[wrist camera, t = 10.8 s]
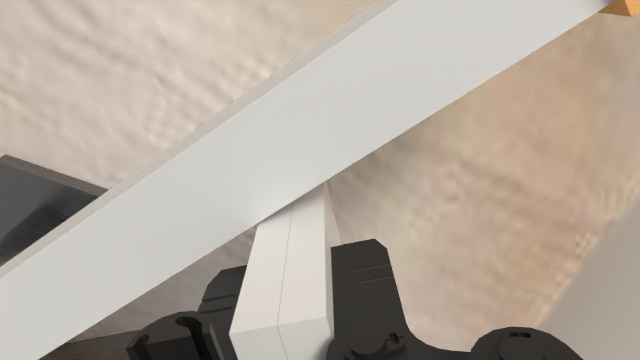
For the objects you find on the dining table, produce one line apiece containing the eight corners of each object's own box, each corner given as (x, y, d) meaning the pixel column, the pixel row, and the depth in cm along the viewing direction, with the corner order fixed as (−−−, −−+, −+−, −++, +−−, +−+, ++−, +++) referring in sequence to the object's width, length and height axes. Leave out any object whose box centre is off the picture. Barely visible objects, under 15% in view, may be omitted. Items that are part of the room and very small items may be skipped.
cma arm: (13, 351, 15) (-61, 441, 12) (-58, 293, 14) (-156, 374, 11) (620, -36, 11) (733, -40, 8) (572, -158, 10) (680, -218, 7)
